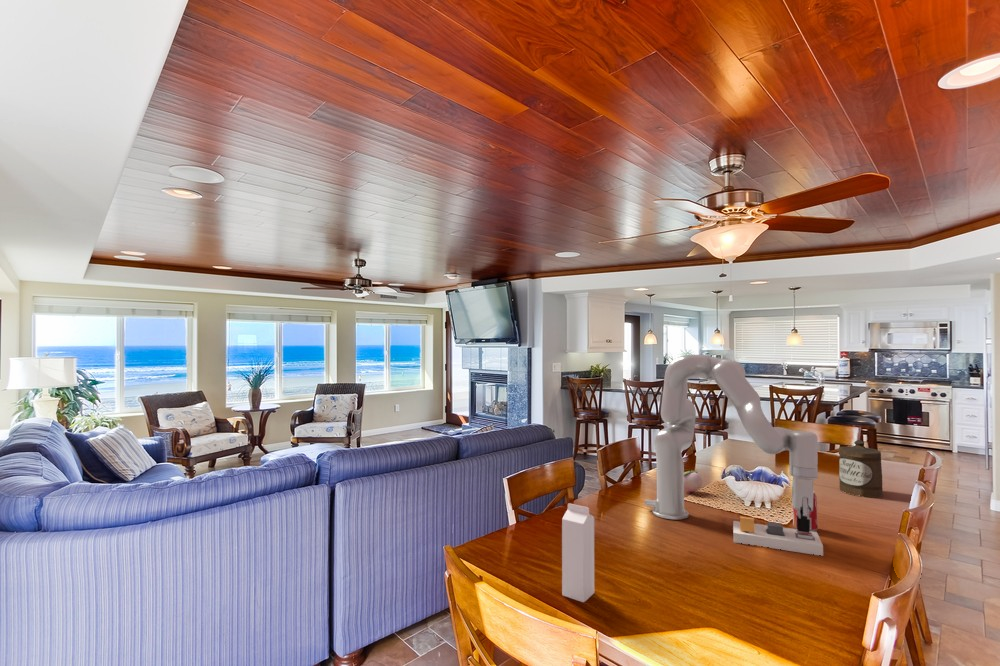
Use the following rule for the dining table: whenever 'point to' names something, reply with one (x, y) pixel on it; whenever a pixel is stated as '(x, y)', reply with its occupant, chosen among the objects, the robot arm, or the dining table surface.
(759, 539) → the panel
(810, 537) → the button grey
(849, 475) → the wooden container
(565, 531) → the milk
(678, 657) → the dining table surface
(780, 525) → the button black
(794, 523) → the soda can
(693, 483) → the decorative fruit
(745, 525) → the thick orange block
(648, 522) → the dining table surface
